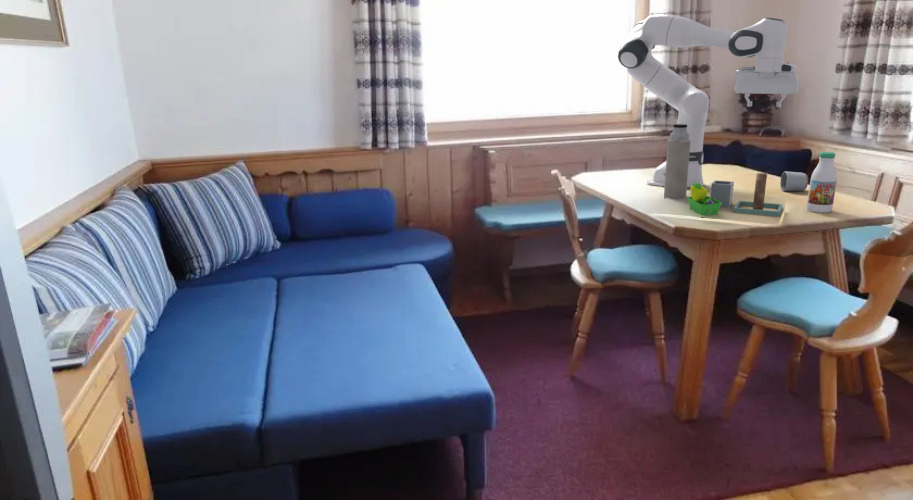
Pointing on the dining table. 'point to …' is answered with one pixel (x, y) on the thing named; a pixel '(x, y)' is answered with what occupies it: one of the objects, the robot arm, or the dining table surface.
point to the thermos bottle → (677, 163)
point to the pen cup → (722, 192)
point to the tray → (756, 211)
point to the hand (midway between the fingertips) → (763, 106)
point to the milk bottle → (822, 184)
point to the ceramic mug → (793, 181)
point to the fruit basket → (702, 201)
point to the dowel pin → (759, 191)
